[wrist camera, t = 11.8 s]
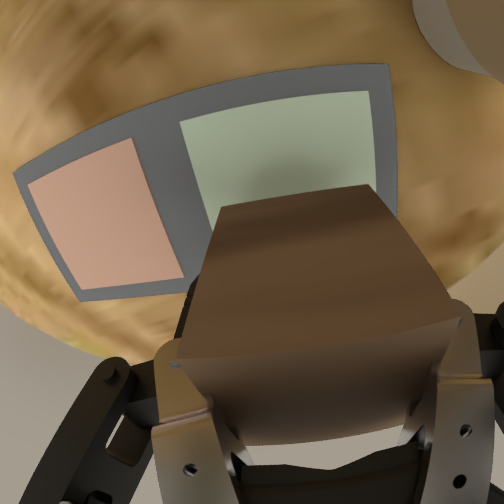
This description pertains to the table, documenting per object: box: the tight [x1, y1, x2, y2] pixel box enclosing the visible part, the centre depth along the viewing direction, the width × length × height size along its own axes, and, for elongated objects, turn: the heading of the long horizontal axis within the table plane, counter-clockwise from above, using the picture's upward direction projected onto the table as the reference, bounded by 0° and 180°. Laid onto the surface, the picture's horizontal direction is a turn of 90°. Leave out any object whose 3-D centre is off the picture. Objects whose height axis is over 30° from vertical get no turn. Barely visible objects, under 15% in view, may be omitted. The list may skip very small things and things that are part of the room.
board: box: [13, 64, 398, 302], centre depth 17 cm, size 13×26×1 cm, turn 102°
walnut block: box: [176, 184, 461, 446], centre depth 8 cm, size 5×5×6 cm
